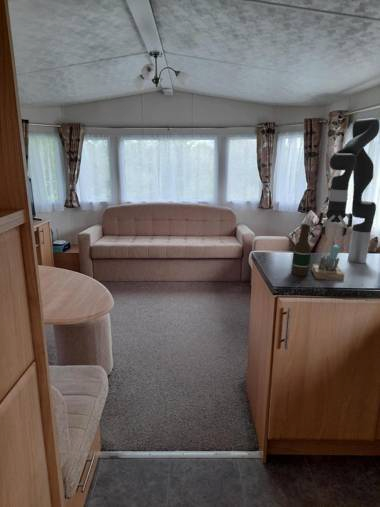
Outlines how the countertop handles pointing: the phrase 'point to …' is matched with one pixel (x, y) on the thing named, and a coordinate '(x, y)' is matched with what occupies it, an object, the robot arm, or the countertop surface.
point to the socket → (329, 274)
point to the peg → (332, 255)
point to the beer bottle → (301, 253)
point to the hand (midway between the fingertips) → (333, 235)
